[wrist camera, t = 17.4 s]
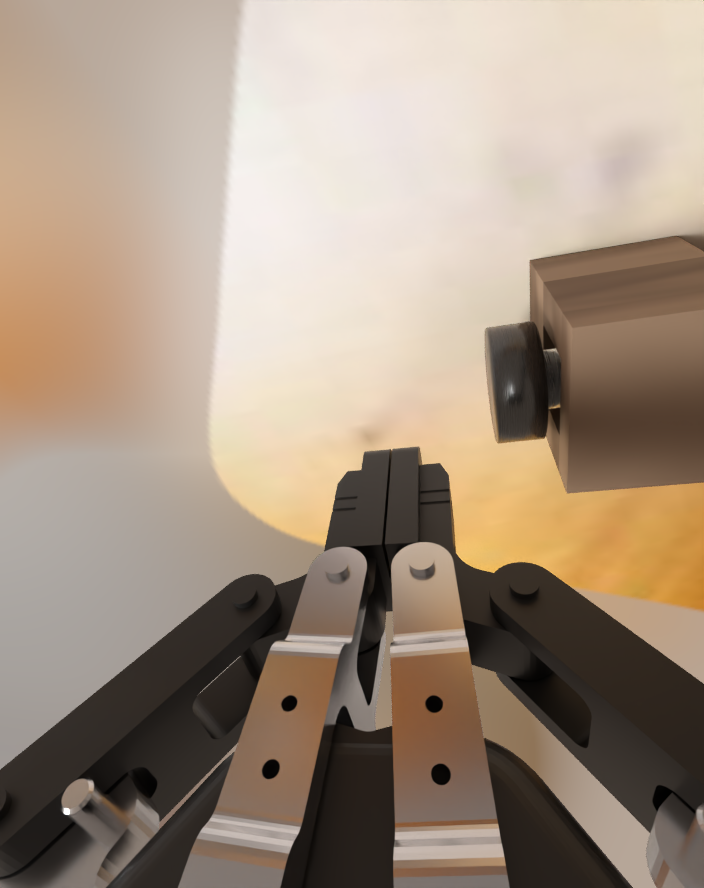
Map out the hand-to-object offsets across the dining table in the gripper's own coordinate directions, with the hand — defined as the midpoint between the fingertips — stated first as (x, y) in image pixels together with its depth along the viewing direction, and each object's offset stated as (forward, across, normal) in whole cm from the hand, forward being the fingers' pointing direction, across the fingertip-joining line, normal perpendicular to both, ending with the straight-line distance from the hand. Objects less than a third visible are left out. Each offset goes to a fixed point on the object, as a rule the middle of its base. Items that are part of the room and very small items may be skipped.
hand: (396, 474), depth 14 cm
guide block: (+9, -8, 0) cm, 12 cm away
